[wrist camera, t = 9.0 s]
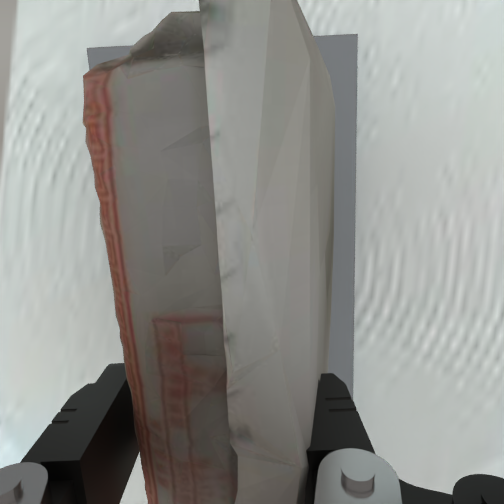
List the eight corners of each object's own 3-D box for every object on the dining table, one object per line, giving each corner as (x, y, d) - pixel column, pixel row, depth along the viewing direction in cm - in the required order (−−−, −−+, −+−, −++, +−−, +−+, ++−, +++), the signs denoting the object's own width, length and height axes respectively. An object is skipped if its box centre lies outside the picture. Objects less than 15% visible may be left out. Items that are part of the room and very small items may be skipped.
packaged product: (203, 80, 14) (-64, -24, 5) (337, 69, 13) (303, -93, 4) (230, 472, 19) (118, 783, 10) (330, 489, 18) (307, 859, 9)
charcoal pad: (353, 38, 21) (357, 33, 20) (349, 430, 26) (352, 438, 25) (92, 52, 21) (86, 47, 20) (142, 438, 26) (138, 446, 26)
